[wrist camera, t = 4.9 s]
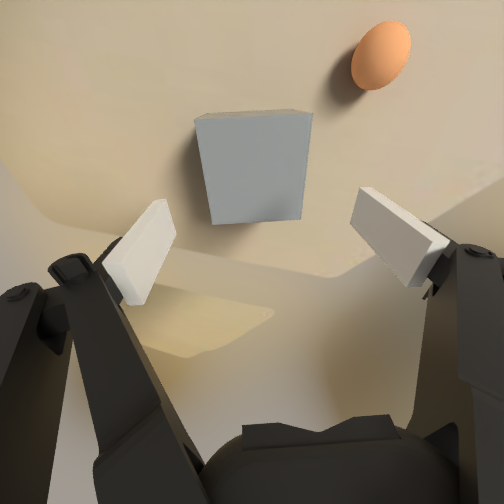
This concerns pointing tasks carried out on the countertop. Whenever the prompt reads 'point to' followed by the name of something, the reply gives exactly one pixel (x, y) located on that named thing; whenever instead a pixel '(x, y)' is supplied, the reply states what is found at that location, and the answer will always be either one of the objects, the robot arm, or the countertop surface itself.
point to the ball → (380, 55)
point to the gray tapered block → (254, 164)
